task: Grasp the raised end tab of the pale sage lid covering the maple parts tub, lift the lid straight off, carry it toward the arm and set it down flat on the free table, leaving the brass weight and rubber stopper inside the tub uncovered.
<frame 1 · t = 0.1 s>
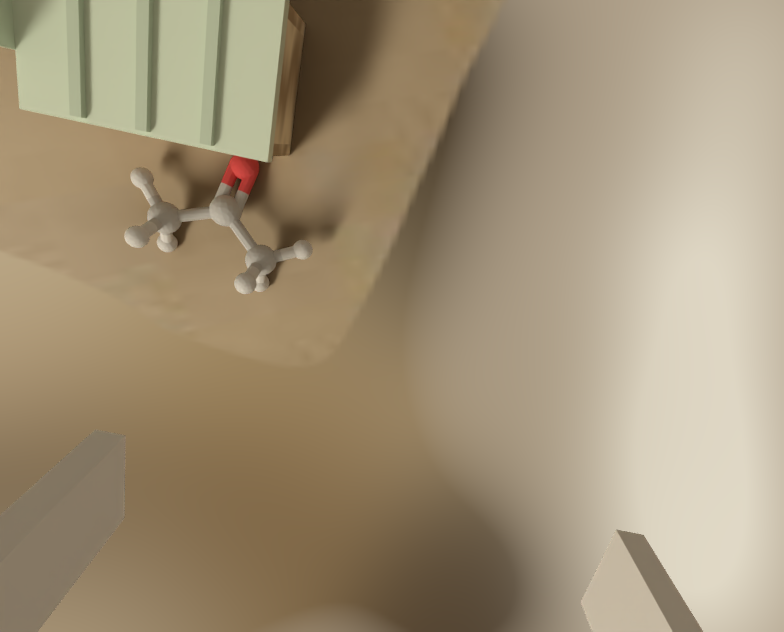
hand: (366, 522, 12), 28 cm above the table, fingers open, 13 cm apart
lid: (155, 54, 28), point 6 cm above the table, touching tub
tub: (196, 70, 34), on the table
molecular model: (234, 218, 38), on the table
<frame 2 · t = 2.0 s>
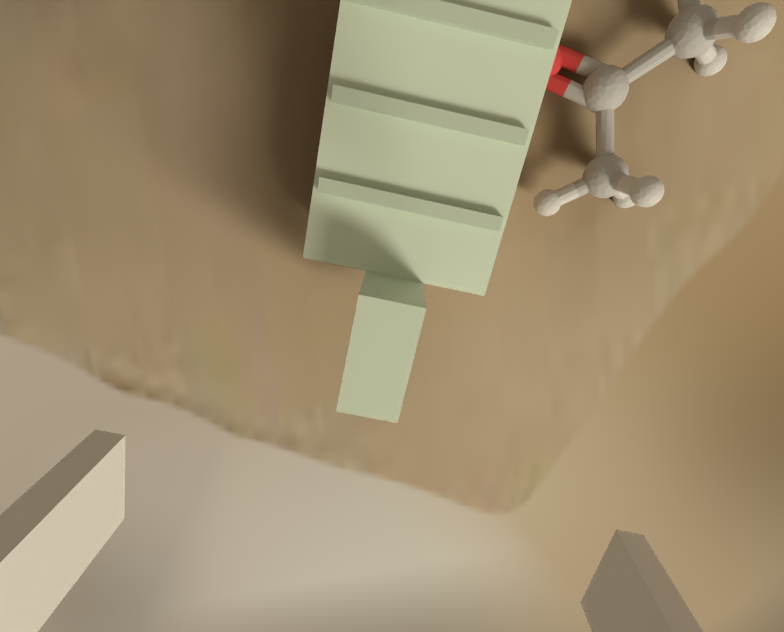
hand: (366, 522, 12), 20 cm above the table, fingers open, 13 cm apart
lid: (428, 117, 22), point 6 cm above the table, touching tub
molecular model: (604, 99, 27), on the table
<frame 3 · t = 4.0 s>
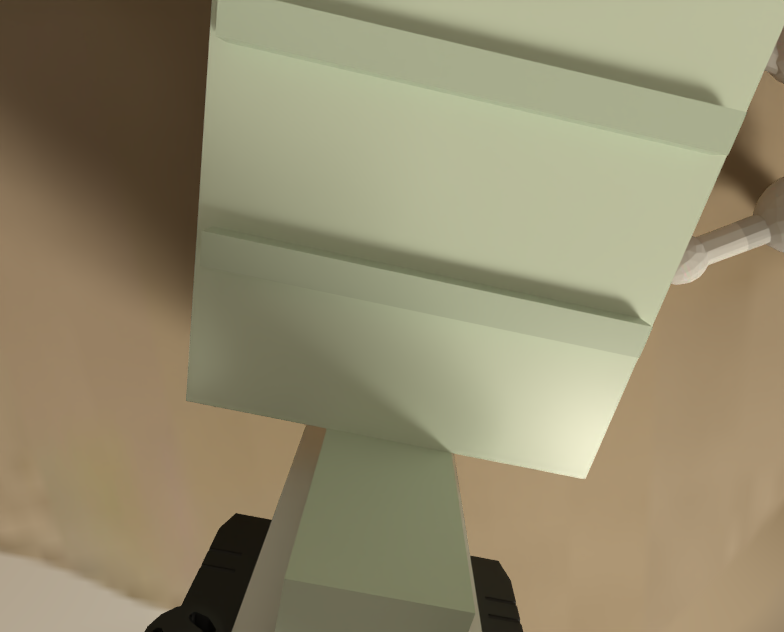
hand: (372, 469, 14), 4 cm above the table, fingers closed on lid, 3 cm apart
lid: (471, 86, 9), point 6 cm above the table, touching gripper, tub
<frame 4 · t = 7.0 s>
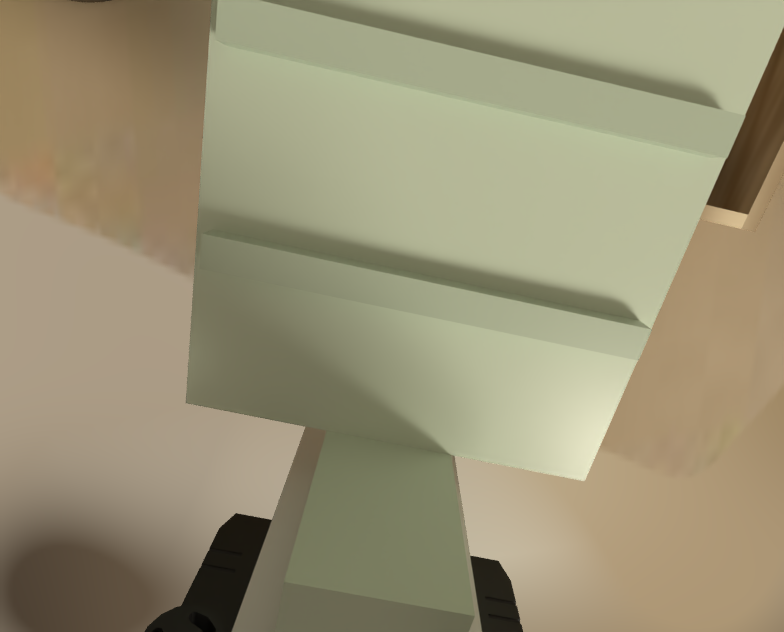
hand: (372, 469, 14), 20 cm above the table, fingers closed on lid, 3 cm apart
lid: (471, 88, 9), point 22 cm above the table, touching gripper
tub: (675, 81, 28), on the table
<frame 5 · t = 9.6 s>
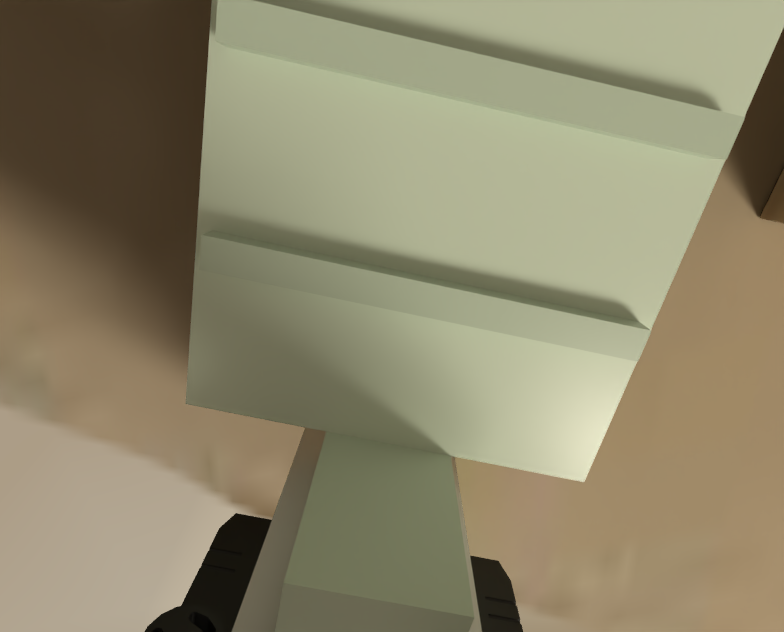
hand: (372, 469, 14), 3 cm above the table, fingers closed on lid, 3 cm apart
lid: (471, 90, 9), point 4 cm above the table, touching gripper
when the fingers open (1 cm above the table, at t = 10.1 s): lid drops 3 cm, on the table.
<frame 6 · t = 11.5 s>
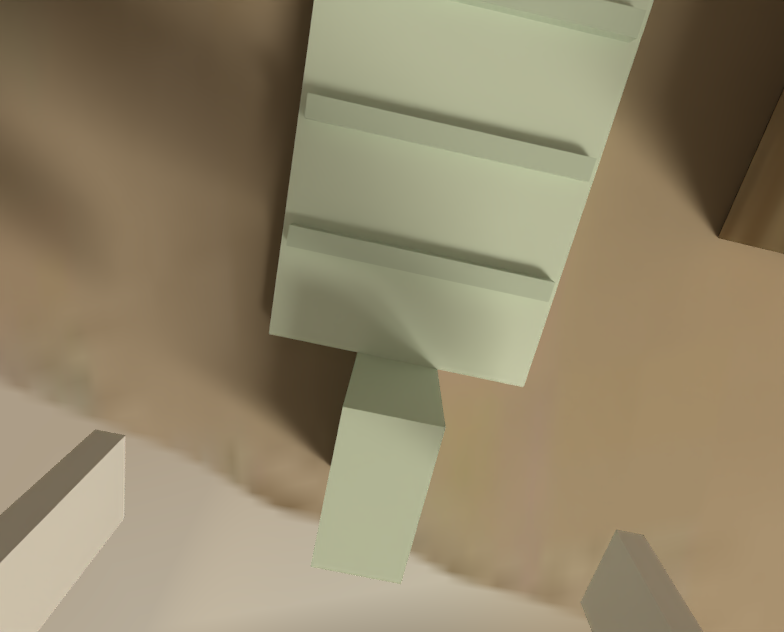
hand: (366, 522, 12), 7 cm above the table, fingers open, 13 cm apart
lid: (447, 140, 15), on the table
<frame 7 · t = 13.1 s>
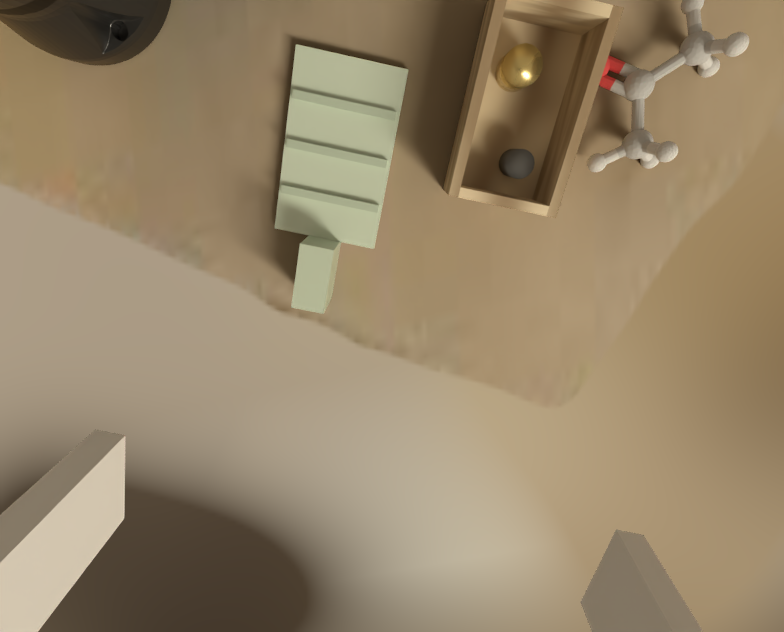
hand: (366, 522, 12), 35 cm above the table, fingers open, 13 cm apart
lid: (339, 153, 42), on the table
tub: (512, 113, 40), on the table
brass weight: (513, 72, 39), point 1 cm above the table, touching tub
molecular model: (635, 92, 40), on the table
rubber stopper: (512, 162, 41), point 1 cm above the table, touching tub
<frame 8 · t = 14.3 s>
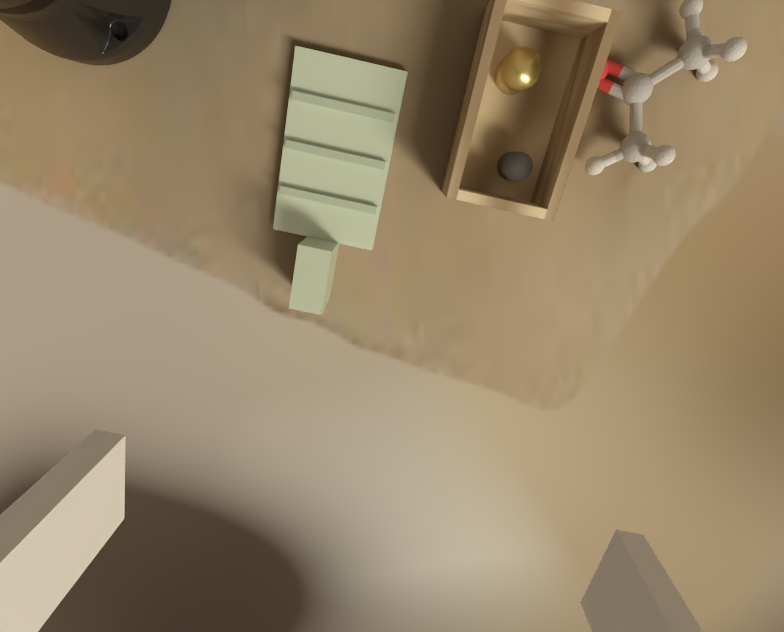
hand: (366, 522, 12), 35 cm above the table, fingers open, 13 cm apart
lid: (337, 154, 42), on the table
tub: (511, 116, 40), on the table
brass weight: (512, 75, 39), point 1 cm above the table, touching tub
molecular model: (634, 96, 40), on the table
rubber stopper: (510, 165, 41), point 1 cm above the table, touching tub
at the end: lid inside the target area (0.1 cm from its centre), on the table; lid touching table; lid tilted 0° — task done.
